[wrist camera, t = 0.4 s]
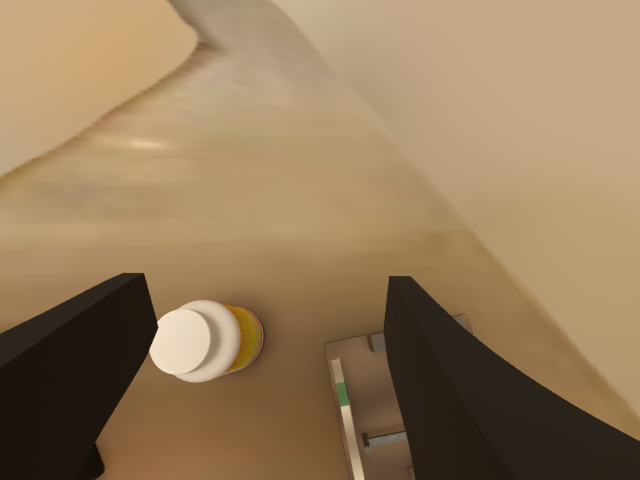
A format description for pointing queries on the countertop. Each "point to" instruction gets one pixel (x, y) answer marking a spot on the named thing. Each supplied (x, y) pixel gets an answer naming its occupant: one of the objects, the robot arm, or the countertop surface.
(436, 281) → the countertop surface
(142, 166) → the countertop surface
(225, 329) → the supplement bottle
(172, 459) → the countertop surface
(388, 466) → the base
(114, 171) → the countertop surface
